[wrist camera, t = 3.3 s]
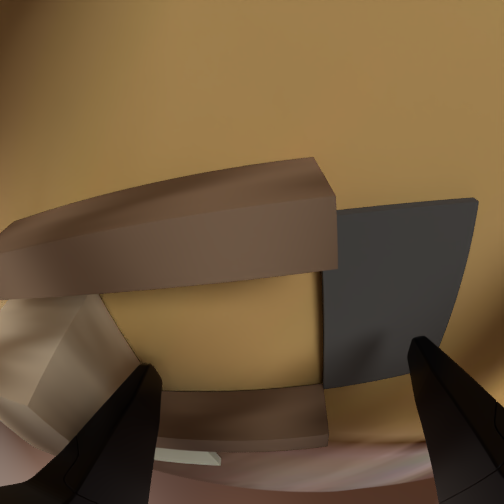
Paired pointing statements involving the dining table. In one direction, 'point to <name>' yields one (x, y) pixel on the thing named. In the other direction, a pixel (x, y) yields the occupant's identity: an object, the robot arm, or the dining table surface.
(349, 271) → the tile
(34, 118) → the dining table surface
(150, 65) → the dining table surface
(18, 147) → the dining table surface
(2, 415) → the beech block
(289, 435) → the walnut channel
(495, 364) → the dining table surface
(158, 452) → the sage coaster
